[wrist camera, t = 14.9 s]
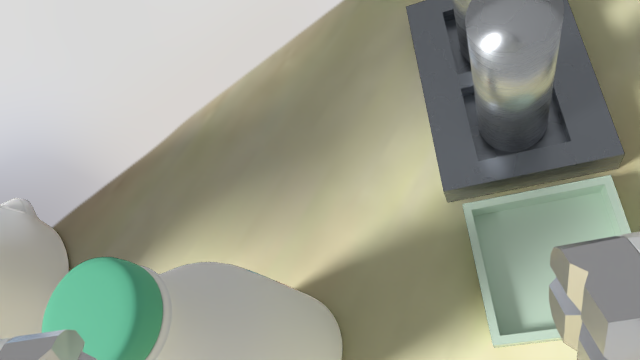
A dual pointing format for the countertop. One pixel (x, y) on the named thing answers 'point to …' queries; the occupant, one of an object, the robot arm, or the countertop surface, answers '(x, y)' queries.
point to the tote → (534, 250)
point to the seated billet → (461, 25)
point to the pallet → (462, 123)
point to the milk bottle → (189, 314)
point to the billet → (513, 67)
